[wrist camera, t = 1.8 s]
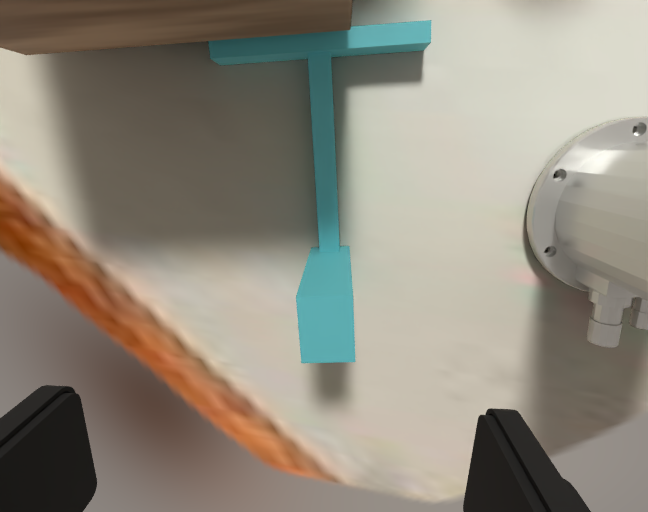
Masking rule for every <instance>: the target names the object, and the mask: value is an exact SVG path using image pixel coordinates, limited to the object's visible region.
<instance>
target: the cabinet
mask: <svg viewBox="0 0 648 512" xmlns="http://www.w3.org/2000/svg"><path fill="white" fill-rule="evenodd" d="M352 1H353V0H0V47H1V48H4V49H8V50H11V51H14V52H18V53H21V54H24V55H34V54H47V53H60V52H73V51H86V50H99V49H112V48H125V47H138V46H150V45H163V44H176V43H189V42H202V41H215V40H228V39H241V38H254V37H267V36H280V35H293V34H306V33H319V32H332V31H345V30H350V28H351V15H352Z"/></svg>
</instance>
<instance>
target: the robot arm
mask: <svg viewBox="0 0 648 512" xmlns="http://www.w3.org/2000/svg"><path fill="white" fill-rule="evenodd" d="M555 172H556V175H555V177H553V175H554V173H555ZM527 233H528V238H529V242H530V245H531V248H532V250H533V252H534V254H535V256H536V258H537V259H538V261H539V262H540V263H541V265H542V266H543V267H544V268H545V269H546V270H547V271H548V272H549V273H551V274H552V275H553V276H554V277H555V278H557V279H559V280H561V281H562V282H564V283H565V284H567V285H569V286H572V287H574V288H577V289H579V290H582V291H587V292H589V296H588V299H589V300H590V301H591V302H593V303H594V304H593V310H592V315H591V316H590V319H589V325H588V331H587V340H588V341H589V342H591V343H593V344H595V345H598V346H602V347H610V348H614V347H617V346H618V344H619V340H620V335H621V329H622V324H623V322H622V316H623V311H624V308H628V307H630V306H631V305H632V301H633V297H635V300H634V305H633V307H632V309H631V314H630V319H629V324H630V325H631V326H633V327H636V328H639V329H646V330H648V117H633V118H625V119H620V120H615V121H610V122H606V123H604V124H601V125H599V126H596V127H594V128H591V129H589V130H587V131H586V132H584V133H582V134H581V135H579V136H577V137H576V138H574V139H573V140H571V141H570V142H569V143H568V144H567V145H565V146H564V147H563V148H562V149H561V150H559V151H558V152H557V154H556V155H555V156H554V157H553V158H552V159H551V160H550V162H549V163H548V164H547V165H546V167H545V168H544V170H543V171H542V173H541V175H540V176H539V178H538V180H537V181H536V184H535V186H534V189H533V191H532V194H531V196H530V200H529V205H528V210H527ZM546 248H547V249H546ZM545 249H546V250H545ZM96 487H97V478H96V474H95V469H94V463H93V458H92V453H91V448H90V443H89V438H88V433H87V429H86V423H85V418H84V413H83V408H82V404H81V399H80V396H79V395H78V394H76V393H75V391H74V389H73V388H72V387H68V386H49V385H46V386H42V387H40V388H38V389H37V390H36V391H34V392H33V393H32V394H31V395H29V396H28V397H27V398H26V399H24V400H23V401H22V402H20V403H19V404H18V405H17V406H15V407H14V408H13V409H12V410H10V411H9V412H8V413H7V414H5V415H4V416H3V417H2V418H0V512H83V510H84V509H85V508H86V506H87V505H88V503H89V502H90V501H91V499H92V497H93V496H94V493H95V490H96ZM463 511H464V512H591V511H590V510H589V508H588V507H587V506H586V504H585V503H584V501H583V500H582V498H581V497H580V495H579V494H578V492H577V491H576V490H575V488H574V487H573V486H572V485H571V484H570V483H569V482H568V481H566V480H565V479H563V478H562V477H561V476H560V474H559V473H558V471H557V469H556V468H555V466H554V465H553V464H552V462H551V460H550V459H549V457H548V456H547V454H546V453H545V451H544V450H543V448H542V447H541V445H540V444H539V442H538V441H537V439H536V438H535V436H534V435H533V433H532V432H531V430H530V429H529V427H528V426H527V424H526V423H525V421H524V420H523V418H522V417H521V415H520V414H519V413H518V411H516V410H510V409H488V410H487V412H486V415H480V416H479V418H478V423H477V428H476V434H475V440H474V446H473V452H472V458H471V463H470V469H469V475H468V481H467V487H466V493H465V498H464V505H463Z"/></svg>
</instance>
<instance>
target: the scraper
mask: <svg viewBox="0 0 648 512" xmlns="http://www.w3.org/2000/svg"><path fill="white" fill-rule="evenodd" d="M430 43H431V20H429V21H416V22H403V23H390V24H377V25H364V26H352V27H351V28H350V30H345V31H332V32H319V33H306V34H293V35H280V36H267V37H254V38H241V39H228V40H215V41H208V44H209V52H210V59H212V60H213V61H214V62H216V63H217V64H219V65H233V64H246V63H260V62H274V61H287V60H301V59H308V71H309V87H310V103H311V120H312V136H313V152H314V169H315V185H316V201H317V218H318V234H319V247H312V248H311V250H310V253H309V257H308V260H307V263H306V266H305V270H304V273H303V276H302V279H301V283H300V286H299V289H298V292H297V295H296V302H297V314H298V327H299V339H300V351H301V363H332V362H355V340H354V312H353V290H352V276H351V263H350V249H349V246H340V242H339V219H338V197H337V175H336V152H335V130H334V108H333V86H332V63H331V57H342V56H356V55H370V54H383V53H397V52H411V51H424V50H425V49H426V47H427V46H428V45H429V44H430Z"/></svg>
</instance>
